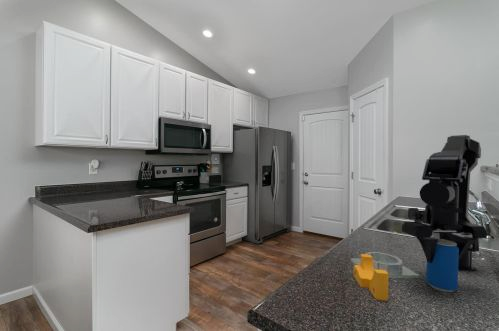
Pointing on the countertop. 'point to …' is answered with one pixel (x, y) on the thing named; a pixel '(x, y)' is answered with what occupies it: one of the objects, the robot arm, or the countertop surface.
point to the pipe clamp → (372, 277)
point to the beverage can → (444, 267)
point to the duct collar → (389, 265)
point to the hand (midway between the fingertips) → (441, 262)
